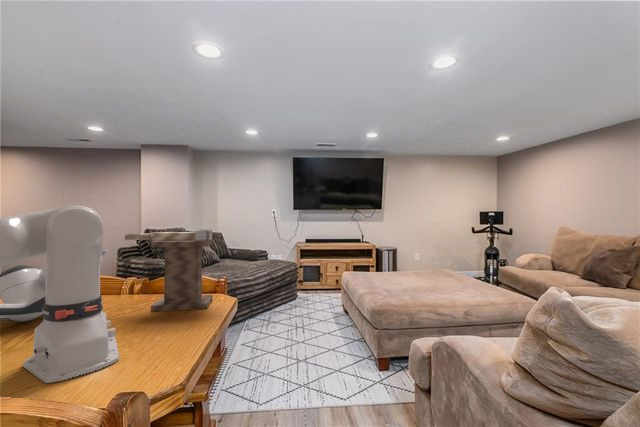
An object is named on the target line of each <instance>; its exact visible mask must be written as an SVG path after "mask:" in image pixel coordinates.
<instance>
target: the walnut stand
mask: <svg viewBox="0 0 640 427" xmlns="http://www.w3.org/2000/svg"><path fill="white" fill-rule="evenodd" d="M213 243H214V238H212V239H211V240H209V241H195V240H193V241H151V243H150V244H151V245H150V246H151V248H164V273H163V274H164V278H163V279H164V281H163V282H164V283H163V284H164V285H163V286H164V289H163V290H164V291H163V292H164V296H161V297H160V298H158V299H157V301H155V302H154V303H153V304H151V305H150V312H165V311H166V312H167V311H182V310H183V311H185V310H187V311H188V310H205V308H207V309H208V308H209V306H210V305H211V303H212V301H213V300H212V299H213V298H214V296H213V294H205V295H204V294H203V293H202V292H203V291H202V290H203V247H206V248H207V247H209V246H211V245H213ZM202 294H203V295H202ZM211 300H212V301H211ZM210 302H211V303H210ZM209 304H210V305H209Z"/></svg>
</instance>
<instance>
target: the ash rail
mask: <svg viewBox="0 0 640 427" xmlns="http://www.w3.org/2000/svg"><path fill="white" fill-rule="evenodd" d="M124 240H125V241H143V240H144V241H147V240H148V241H151V242H153V241H193V240H195V231H194V232H193V231H191V232H189V231H188V232H187V231H185V232H184V231H183V232H182V231H181V232H175V231H171V232H170V231H169V232H166V231H165V232H162V231H160V232H158V231H157V232H150V233H149V232H148V233H139V232H138V233H135V232H134V233H133V232H132V233H130V232H129V233H127V232H126V233H125V234H124Z"/></svg>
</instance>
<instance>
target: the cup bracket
mask: <svg viewBox="0 0 640 427" xmlns="http://www.w3.org/2000/svg"><path fill="white" fill-rule="evenodd" d="M194 232H195V241H209V240H211V239H213V229H198V230H197V229H196V230H195V231H194Z"/></svg>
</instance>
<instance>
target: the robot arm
mask: <svg viewBox="0 0 640 427" xmlns="http://www.w3.org/2000/svg"><path fill="white" fill-rule="evenodd" d="M103 241H104V221H103V218H102V217H101V215H100V214H99V213H98V212H97V211H96V210H94V209H93V208H90V207H88V206H85V205H78V204H77V205H76V204H73V205H66V206H60V207H53V208H49V209H44V210H38V211H33V212H27V213H23V214H21V213H20V214H17V215H16V214H15V215H10V216H4V217H0V268H2V267H6V266H9V265H10V266H11V265H12V264H17V263H21V262H24V261H26V260H30V259H33V258H35V257H39V256H42V255H45V266H44V267H42V268H40V269H38V268H37V267H34V266H31V265H25V264H24V265H23V264H20V265H17V266H16V265H15V266H13V267H10V268H8V269H6V270H3V271H1V272H0V298H1V301H2V303H0V322H13V323H14V322H15V323H22V322H23V323H24V322H28V321H32V320H35V319H37V318H38V317H41V316H42V319H43V320H42V321H41V323H40V324H38V325H37V326H36V327H35V328H34V331H33V332H34V333H33V349H32V350H33V351H32V356H31V357H28V358H26V359H24V361H22V367H23V368H24V369H26V370H27V371H29V373H31V374H33V376H35V377H37V379H38V380H41V381H42V383H43V382H44V383H45V384H50V383H56V382H61V381H65V380H69V378H70V379H73V378H72V377H74V378H76V376H77V377H80V376H79V375H81V376H83V375H82V374H84V375H86V373H87V374H89V372H90V373H93V372H95V370H96V371H98V370H101V369H103V367H104V368H106V367H108V366H110V365H114V364H115V363H116V362H118V361H119V360H120V355H119V350H118V344H117V339H116V328H115V327H112V328H108V327H110V326H111V324H112V322H111V320H107V313H106V312H104V311H103V309H104V308H103V303H104V302H103V298H102V295H101V262H102V260H103V257H105V256H106V255H108V254H109V253H108V251H107V249H104V250H103V245H104V244H103Z"/></svg>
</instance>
